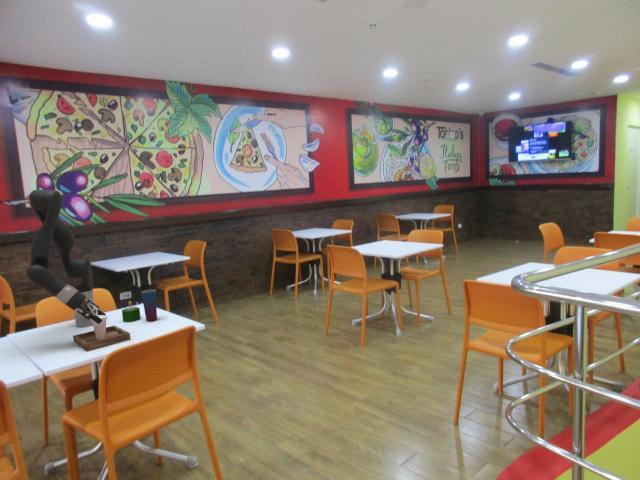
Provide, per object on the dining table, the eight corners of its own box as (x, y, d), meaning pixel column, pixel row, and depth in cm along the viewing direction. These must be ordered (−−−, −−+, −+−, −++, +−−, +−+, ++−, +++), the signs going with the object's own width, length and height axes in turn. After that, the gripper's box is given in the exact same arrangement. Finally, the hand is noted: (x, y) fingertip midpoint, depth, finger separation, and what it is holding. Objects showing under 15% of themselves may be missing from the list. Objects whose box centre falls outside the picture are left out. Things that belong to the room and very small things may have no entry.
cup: (154, 322, 225) (151, 292, 223) (141, 322, 226) (138, 293, 225) (161, 318, 232) (158, 289, 230) (149, 318, 233) (146, 289, 231)
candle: (136, 321, 228) (134, 302, 227) (120, 322, 228) (118, 303, 227) (143, 317, 236) (141, 298, 235) (127, 317, 236) (125, 299, 235)
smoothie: (96, 336, 204) (93, 306, 202) (111, 335, 204) (107, 305, 203) (90, 341, 198) (86, 310, 196) (105, 340, 198) (102, 309, 196)
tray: (73, 342, 202) (72, 335, 201) (115, 331, 214) (114, 325, 214) (87, 351, 189) (86, 344, 188) (130, 339, 201) (129, 332, 201)
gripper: (72, 294, 190) (105, 317, 194) (81, 286, 203) (111, 308, 208) (60, 307, 189) (93, 331, 193) (69, 299, 203) (100, 321, 207)
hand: (102, 319), depth 200 cm, fingers open, 8 cm apart
